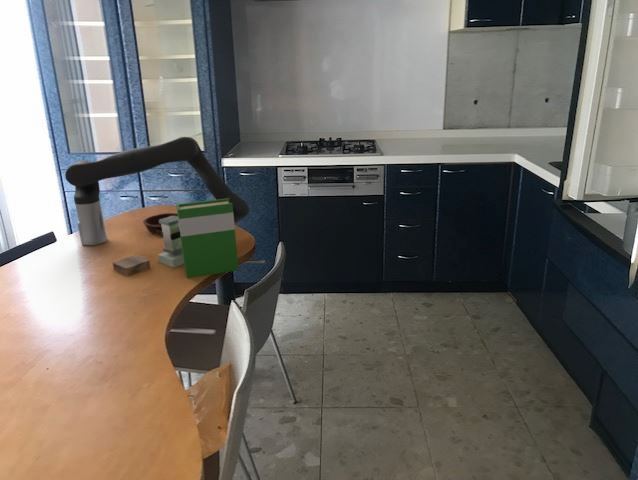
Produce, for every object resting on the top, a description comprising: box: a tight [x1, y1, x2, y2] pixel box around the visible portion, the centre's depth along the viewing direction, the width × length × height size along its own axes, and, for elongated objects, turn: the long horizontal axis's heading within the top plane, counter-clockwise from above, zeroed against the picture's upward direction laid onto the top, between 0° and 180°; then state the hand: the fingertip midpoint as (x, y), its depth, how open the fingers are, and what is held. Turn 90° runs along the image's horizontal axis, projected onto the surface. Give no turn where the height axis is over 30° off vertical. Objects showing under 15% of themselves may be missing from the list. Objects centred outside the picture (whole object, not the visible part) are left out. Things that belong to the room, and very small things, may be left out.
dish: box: [142, 212, 178, 236], centre depth 220 cm, size 18×22×5 cm
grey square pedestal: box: [159, 216, 182, 255], centre depth 183 cm, size 6×6×12 cm
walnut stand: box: [112, 254, 151, 278], centre depth 180 cm, size 9×9×3 cm
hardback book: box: [175, 198, 240, 279], centre depth 173 cm, size 18×7×24 cm, turn 108°
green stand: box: [157, 251, 184, 268], centre depth 185 cm, size 9×9×3 cm
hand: (166, 235), depth 181 cm, fingers closed on grey square pedestal, 5 cm apart
